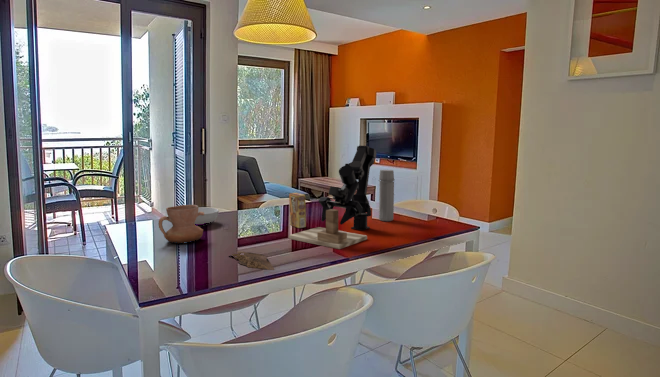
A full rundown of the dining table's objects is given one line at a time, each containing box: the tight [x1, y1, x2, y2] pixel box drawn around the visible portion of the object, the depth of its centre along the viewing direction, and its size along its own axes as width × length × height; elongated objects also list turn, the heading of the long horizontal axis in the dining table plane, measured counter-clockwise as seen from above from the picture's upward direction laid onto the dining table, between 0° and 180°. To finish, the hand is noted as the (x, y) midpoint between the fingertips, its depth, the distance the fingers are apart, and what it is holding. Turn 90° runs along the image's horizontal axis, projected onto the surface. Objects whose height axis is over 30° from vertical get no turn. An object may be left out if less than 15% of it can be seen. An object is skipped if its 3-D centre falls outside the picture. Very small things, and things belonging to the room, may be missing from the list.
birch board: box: [288, 226, 368, 250], centre depth 176 cm, size 19×26×2 cm
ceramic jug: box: [157, 204, 204, 244], centre depth 172 cm, size 18×14×14 cm
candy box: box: [288, 192, 307, 229], centre depth 199 cm, size 9×4×15 cm, turn 33°
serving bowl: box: [194, 206, 220, 224], centre depth 203 cm, size 21×21×7 cm
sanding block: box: [317, 208, 347, 244], centre depth 168 cm, size 6×10×12 cm, turn 52°
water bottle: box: [378, 169, 395, 222], centre depth 210 cm, size 9×8×25 cm
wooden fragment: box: [231, 250, 276, 271], centre depth 147 cm, size 26×11×1 cm, turn 35°
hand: (331, 222), depth 167 cm, fingers open, 9 cm apart
